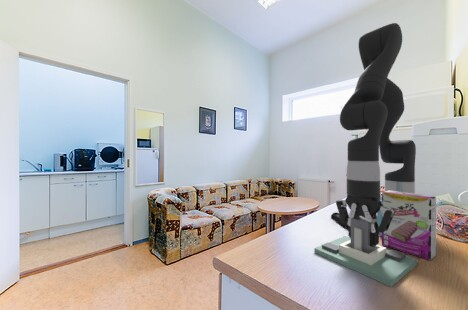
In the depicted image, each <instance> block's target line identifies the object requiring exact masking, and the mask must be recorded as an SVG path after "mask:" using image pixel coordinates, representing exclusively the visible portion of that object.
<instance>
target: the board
mask: <svg viewBox="0 0 468 310" xmlns="http://www.w3.org/2000/svg"><path fill="white" fill-rule="evenodd" d="M314 253H315V254H317V255H320V256H322V257H324V258H326V259H328V260H330V261H332V262H335V263H337V264H339V265H341V266H344V267H346V268H348V269H350V270H353V271H355V272H357V273H359V274H361V275H364V276H366V277H368V278H370V279H373V280H375V281H377V282H380V283H382V284H384V285H386V286H388V287H391V288H392V287H393V286H395V284H397V283H398V282H399V281H400V280H401V279H403V277H405V276H406V275H407V274H408V273H409V272H410V271H412V270H413V269H414V268H416V266H418V258H415V257H411V256H408V255H407V253H405V252H402V251H399V250H395V249H391V250H390V249H388V248H387V247H386V246H383V245H379V244H378V245H376V250H375V251H373V252H371V253H369V254H367V253H364V252H362V251H359V250H356V249H353V248H351V239H350V237H349V236H346V235H344V236H341V237H339V238H336V239H335V240H331V241H329V242H326V243H324V244H321V245H318V246H317V247H314Z"/></svg>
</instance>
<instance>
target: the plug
mask: <svg viewBox="0 0 468 310" xmlns="http://www.w3.org/2000/svg"><path fill="white" fill-rule="evenodd" d="M370 232H371V231H370V223H369V222H367V221H366V218H364V217H362V216H359V217H356V218H351V248H353V249H356V250H359V251H362V252H364V253H367V254H369V253H371V252H373V251H375V250H376V246H375V247H371V246H370Z"/></svg>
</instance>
